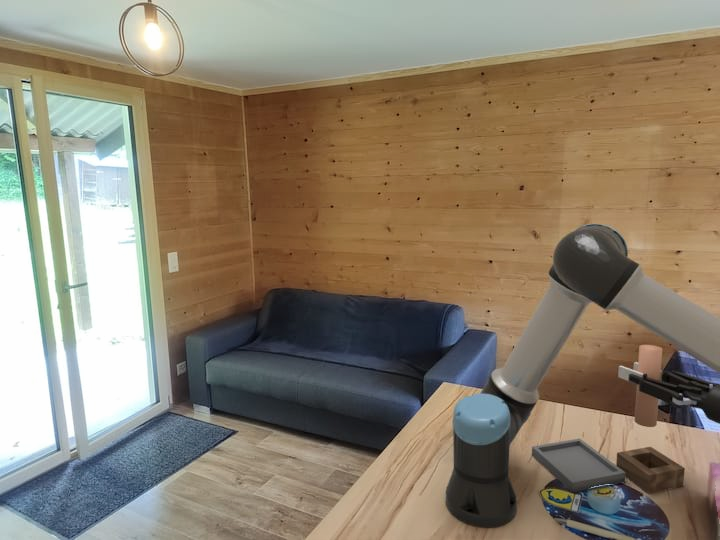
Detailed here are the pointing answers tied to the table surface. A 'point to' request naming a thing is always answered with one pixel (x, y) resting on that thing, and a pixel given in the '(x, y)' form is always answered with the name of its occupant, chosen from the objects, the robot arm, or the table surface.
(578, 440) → the tray
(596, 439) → the table surface
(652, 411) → the dowel
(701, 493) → the table surface
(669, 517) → the table surface
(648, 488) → the socket block
